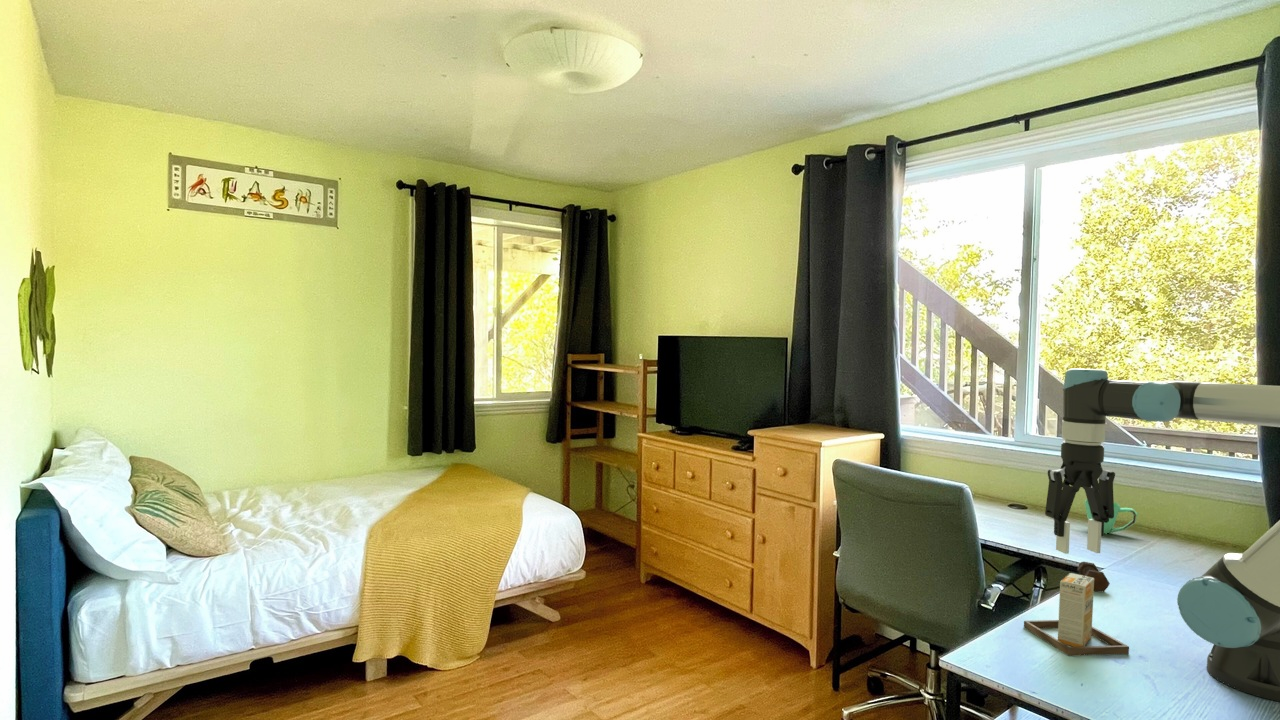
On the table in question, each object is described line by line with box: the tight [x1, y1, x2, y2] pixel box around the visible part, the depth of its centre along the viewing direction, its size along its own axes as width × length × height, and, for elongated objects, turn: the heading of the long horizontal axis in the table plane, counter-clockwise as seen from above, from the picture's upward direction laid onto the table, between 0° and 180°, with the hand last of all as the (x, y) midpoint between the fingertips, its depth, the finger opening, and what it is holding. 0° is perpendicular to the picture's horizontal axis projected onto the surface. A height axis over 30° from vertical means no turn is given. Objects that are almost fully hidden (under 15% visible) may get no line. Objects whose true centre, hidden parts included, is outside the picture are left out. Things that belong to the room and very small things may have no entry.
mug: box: [1084, 499, 1139, 534], centre depth 225 cm, size 15×10×10 cm
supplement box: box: [1057, 572, 1095, 647], centre depth 141 cm, size 8×5×13 cm, turn 135°
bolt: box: [1077, 561, 1110, 593], centre depth 177 cm, size 6×5×15 cm
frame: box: [1023, 619, 1130, 657], centre depth 141 cm, size 13×13×2 cm
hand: (1077, 551), depth 141 cm, fingers open, 6 cm apart
